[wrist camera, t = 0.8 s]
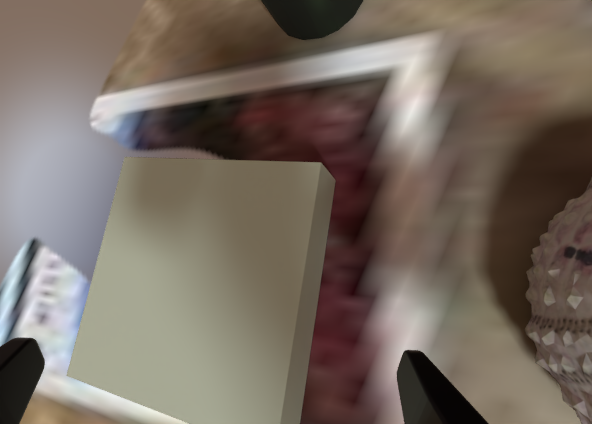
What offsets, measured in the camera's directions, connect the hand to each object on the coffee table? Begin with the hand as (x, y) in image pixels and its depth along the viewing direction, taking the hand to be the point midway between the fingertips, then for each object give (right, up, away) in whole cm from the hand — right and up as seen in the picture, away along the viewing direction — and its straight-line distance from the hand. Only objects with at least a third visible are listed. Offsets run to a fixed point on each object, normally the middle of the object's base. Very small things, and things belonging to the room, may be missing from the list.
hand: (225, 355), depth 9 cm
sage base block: (-3, -1, +14) cm, 14 cm away
